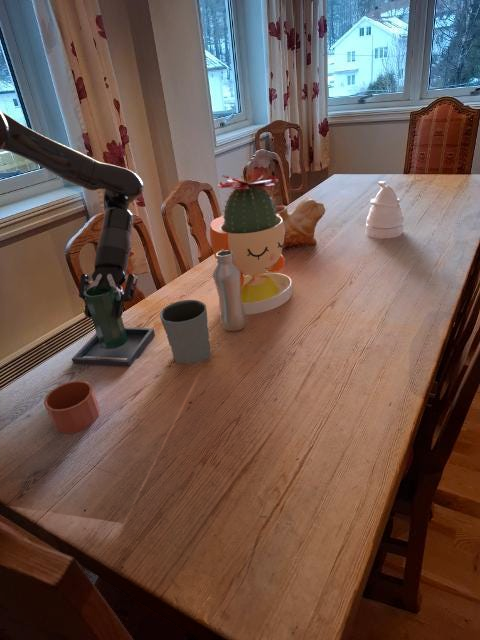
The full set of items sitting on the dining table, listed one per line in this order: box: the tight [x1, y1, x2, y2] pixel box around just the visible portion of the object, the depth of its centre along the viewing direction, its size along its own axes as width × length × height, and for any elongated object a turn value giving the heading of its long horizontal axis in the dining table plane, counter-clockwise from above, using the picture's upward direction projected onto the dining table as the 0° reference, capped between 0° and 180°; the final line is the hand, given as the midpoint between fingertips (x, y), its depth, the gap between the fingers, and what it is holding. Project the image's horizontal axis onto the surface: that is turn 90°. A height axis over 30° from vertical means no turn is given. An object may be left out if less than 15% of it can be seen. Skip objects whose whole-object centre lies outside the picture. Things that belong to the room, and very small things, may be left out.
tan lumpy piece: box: [275, 197, 326, 251], centre depth 154 cm, size 14×26×15 cm, turn 103°
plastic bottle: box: [212, 251, 247, 332], centre depth 104 cm, size 6×7×20 cm
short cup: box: [43, 380, 101, 434], centre depth 82 cm, size 9×9×6 cm
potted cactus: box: [209, 165, 293, 315], centre depth 115 cm, size 22×22×35 cm
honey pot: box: [365, 180, 405, 239], centre depth 153 cm, size 13×13×18 cm
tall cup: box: [84, 284, 128, 350], centre depth 101 cm, size 6×7×14 cm
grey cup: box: [159, 299, 212, 365], centre depth 96 cm, size 10×10×12 cm
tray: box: [71, 327, 156, 368], centre depth 105 cm, size 15×15×2 cm
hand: (102, 317), depth 99 cm, fingers closed on tall cup, 6 cm apart
